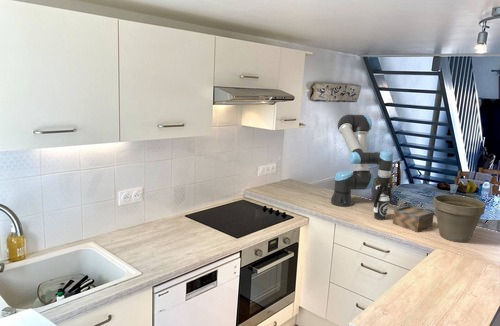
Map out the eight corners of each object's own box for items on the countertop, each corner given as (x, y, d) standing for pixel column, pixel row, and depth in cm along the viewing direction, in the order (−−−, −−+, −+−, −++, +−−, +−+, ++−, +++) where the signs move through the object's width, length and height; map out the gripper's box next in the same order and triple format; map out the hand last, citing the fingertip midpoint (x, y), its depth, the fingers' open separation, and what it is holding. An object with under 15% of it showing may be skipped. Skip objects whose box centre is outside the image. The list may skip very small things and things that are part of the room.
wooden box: (392, 223, 220) (394, 209, 219) (407, 219, 229) (409, 205, 228) (417, 232, 208) (419, 217, 206) (432, 227, 217) (434, 212, 215)
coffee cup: (385, 216, 233) (387, 194, 230) (389, 221, 224) (392, 198, 221) (370, 215, 234) (372, 193, 231) (373, 220, 225) (376, 197, 222)
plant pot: (421, 235, 203) (425, 198, 199) (439, 225, 219) (444, 191, 215) (469, 250, 185) (476, 210, 180) (486, 239, 200) (492, 202, 196)
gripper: (378, 179, 214) (374, 215, 219) (399, 175, 227) (396, 209, 231) (367, 177, 220) (364, 211, 225) (389, 173, 233) (385, 206, 237)
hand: (380, 210), depth 228 cm, fingers closed on coffee cup, 9 cm apart
